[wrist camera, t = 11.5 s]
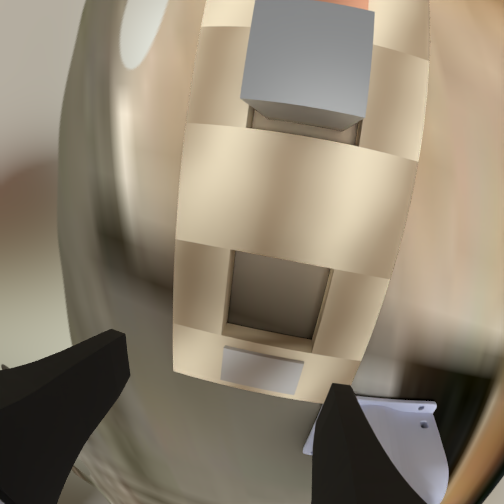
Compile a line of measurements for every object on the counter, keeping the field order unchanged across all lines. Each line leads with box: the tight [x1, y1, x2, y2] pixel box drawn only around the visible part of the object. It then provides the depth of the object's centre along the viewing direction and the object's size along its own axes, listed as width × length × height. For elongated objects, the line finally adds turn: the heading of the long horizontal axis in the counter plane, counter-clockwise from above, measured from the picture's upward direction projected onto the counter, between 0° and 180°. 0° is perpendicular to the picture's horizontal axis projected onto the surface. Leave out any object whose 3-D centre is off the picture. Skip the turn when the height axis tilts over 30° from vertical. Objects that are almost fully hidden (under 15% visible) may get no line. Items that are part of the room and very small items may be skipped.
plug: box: [240, 0, 375, 131], centre depth 11 cm, size 4×4×7 cm
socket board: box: [173, 0, 430, 404], centre depth 16 cm, size 12×26×2 cm, turn 173°
